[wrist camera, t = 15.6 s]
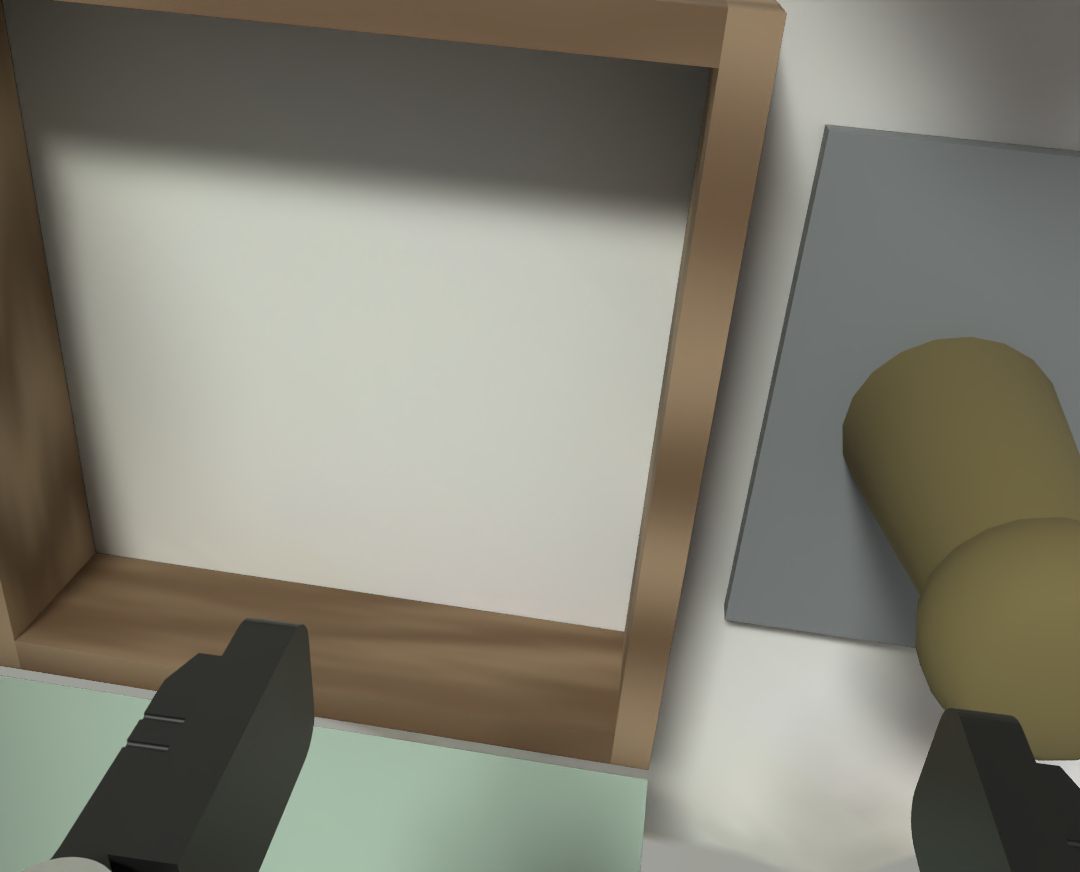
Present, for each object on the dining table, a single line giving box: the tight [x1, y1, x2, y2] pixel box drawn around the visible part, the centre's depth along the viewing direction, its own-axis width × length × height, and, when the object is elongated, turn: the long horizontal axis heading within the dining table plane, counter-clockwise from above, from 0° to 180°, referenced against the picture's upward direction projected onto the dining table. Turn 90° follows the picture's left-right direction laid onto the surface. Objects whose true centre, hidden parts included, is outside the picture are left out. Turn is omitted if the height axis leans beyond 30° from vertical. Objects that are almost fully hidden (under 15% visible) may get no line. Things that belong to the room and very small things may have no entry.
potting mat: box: [724, 125, 1080, 648], centre depth 29 cm, size 16×11×1 cm
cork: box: [842, 337, 1080, 760], centre depth 24 cm, size 6×6×11 cm
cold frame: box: [0, 0, 787, 770], centre depth 29 cm, size 22×22×5 cm
